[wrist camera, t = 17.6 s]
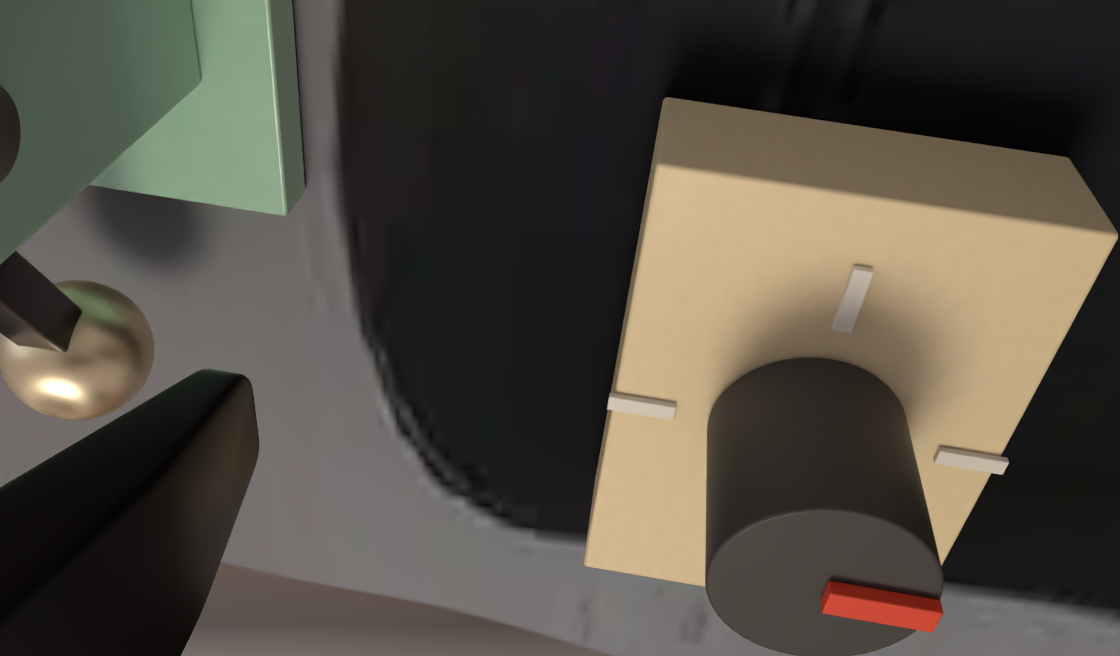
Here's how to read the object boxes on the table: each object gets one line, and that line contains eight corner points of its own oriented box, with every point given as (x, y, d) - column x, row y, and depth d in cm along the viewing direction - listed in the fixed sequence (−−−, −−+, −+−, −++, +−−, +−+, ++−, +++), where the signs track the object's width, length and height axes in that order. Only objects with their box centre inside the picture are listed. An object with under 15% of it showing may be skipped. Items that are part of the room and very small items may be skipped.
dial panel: (658, 93, 19) (649, 166, 16) (1075, 156, 19) (1131, 240, 16) (591, 478, 26) (578, 571, 23) (897, 529, 25) (917, 630, 23)
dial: (690, 482, 21) (685, 651, 18) (729, 340, 19) (732, 504, 15) (871, 513, 21) (903, 689, 17) (935, 374, 18) (985, 547, 15)
